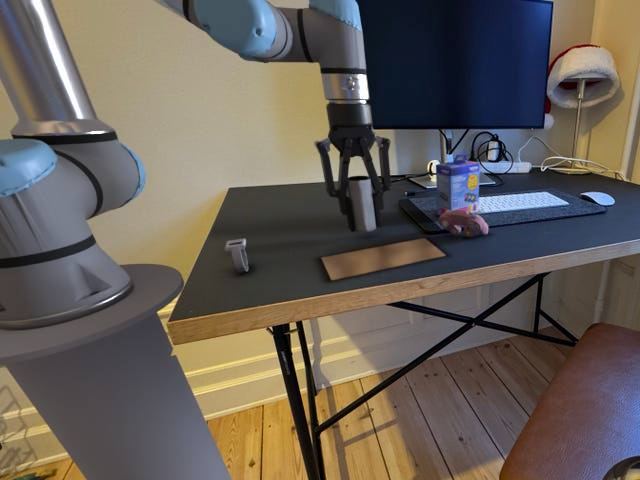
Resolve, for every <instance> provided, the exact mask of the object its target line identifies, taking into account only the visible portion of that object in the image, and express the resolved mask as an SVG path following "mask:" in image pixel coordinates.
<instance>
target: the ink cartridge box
mask: <svg viewBox="0 0 640 480" xmlns="http://www.w3.org/2000/svg"><path fill="white" fill-rule="evenodd" d="M468 154H469V152H465V153H459V154H456V155H455V157H454V160H453V161H446V162H443V163H438V164H435V178H436V179H435V181H436V182H435V183H436V212H437V214H436V215H438V216H439V217H440V216H441V215H442V214H443V213H445V212H446V210H450V211H454V210H466V211H468V212H471V213H478V212H479V198H480V196H479V195H480V170H481V168H480V167H481V166H480V165H481V164H480V162H476V161H472V160H467V158H468V156H469V155H468ZM461 157H463V158H461ZM476 208H477V209H476ZM472 209H474V210H472ZM469 210H470V211H469Z"/></svg>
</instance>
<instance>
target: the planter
mask: <svg viewBox="0 0 640 480" xmlns="http://www.w3.org/2000/svg"><path fill="white" fill-rule="evenodd" d="M372 193H373V187H372V184H371V178H370V177H369V176H368V175H352V176H348V183H347V194H348V195H347V196H348V197H349V198H350V199H351V204H352V211H353V217H354V224H355V231H354V232H358V233H367V232H372V231H374V230H376V229H377V226H376V218H375V210H374V202H373V194H372Z"/></svg>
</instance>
